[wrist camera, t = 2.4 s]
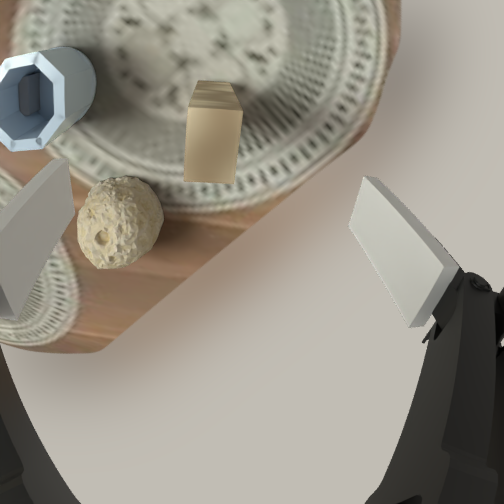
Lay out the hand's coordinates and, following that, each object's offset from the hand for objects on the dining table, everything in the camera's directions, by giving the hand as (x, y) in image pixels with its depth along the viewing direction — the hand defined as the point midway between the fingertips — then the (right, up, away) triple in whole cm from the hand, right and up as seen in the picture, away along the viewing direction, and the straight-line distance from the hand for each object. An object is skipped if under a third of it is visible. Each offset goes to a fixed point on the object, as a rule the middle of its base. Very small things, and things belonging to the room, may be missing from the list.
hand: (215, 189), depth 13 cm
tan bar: (-2, +12, +15) cm, 19 cm away
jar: (-18, +14, +11) cm, 25 cm away
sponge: (-13, +2, +21) cm, 25 cm away
